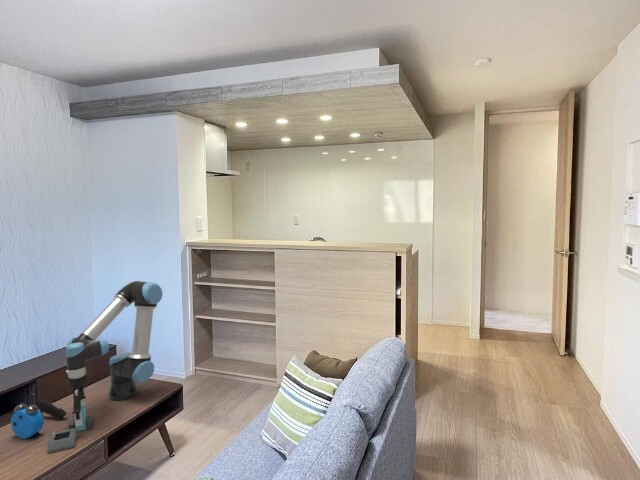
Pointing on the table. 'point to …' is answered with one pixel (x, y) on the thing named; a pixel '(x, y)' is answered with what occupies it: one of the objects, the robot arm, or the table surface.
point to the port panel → (62, 440)
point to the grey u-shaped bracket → (89, 422)
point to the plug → (84, 424)
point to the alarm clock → (26, 421)
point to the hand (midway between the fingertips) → (80, 418)
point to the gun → (52, 410)
